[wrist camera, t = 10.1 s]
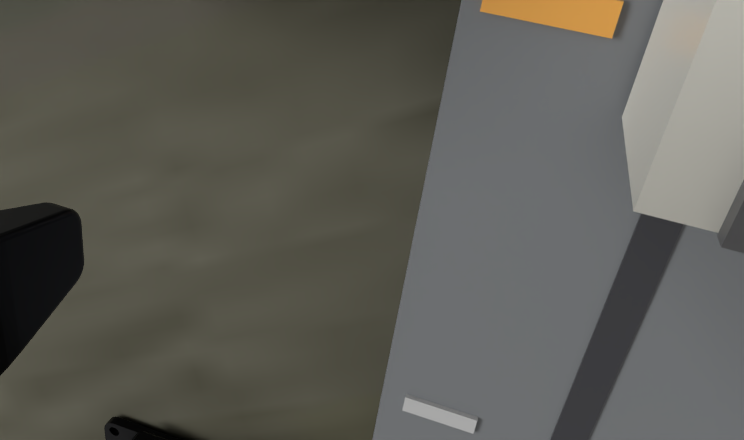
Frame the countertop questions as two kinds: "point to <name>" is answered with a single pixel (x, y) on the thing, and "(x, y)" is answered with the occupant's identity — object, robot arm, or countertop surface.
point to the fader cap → (691, 119)
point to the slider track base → (556, 252)
